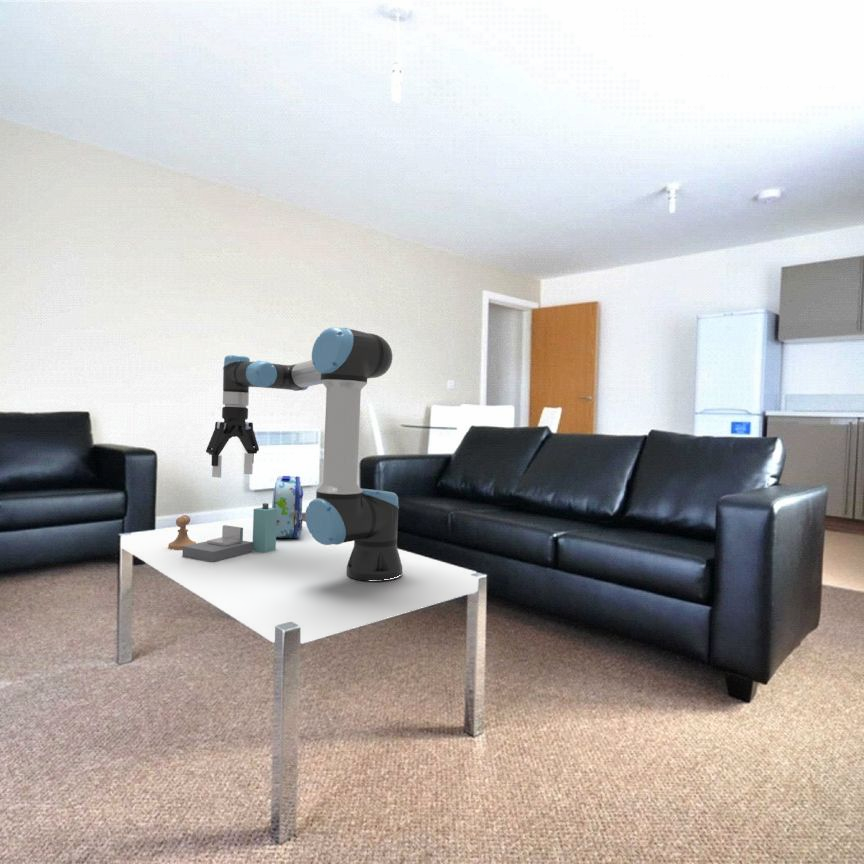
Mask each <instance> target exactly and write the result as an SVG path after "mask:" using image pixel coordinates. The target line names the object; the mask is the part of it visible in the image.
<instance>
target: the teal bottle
mask: <svg viewBox="0 0 864 864" xmlns="http://www.w3.org/2000/svg"><path fill="white" fill-rule="evenodd" d="M269 506H270V505H269V503H267V502H266V503H262V507H258V508H253V515H252V516H253V517H252V518H253V521H252V542H253V551H255V552H259V553H267V552H268V553H269V552H272V551H276V548H277V547H276V546H277V537H276V525H277V509H276V508H272V507H269Z"/></svg>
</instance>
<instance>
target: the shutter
mask: <svg viewBox="0 0 864 864" xmlns="http://www.w3.org/2000/svg"><path fill="white" fill-rule="evenodd" d="M221 532H222V534H221V535H222V536H221V537H218V538H212V539H208V540H207V543H209V544H215V545H221V546H228V545H232V544H236V543H240V542H243V541H244V540H243V538H244V537H243V536H244V528H243V527H241V526H233V525H227V524H225V525H222V531H221Z"/></svg>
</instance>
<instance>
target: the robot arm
mask: <svg viewBox="0 0 864 864" xmlns="http://www.w3.org/2000/svg"><path fill="white" fill-rule="evenodd" d="M311 350H312V351H311V360H307V361H306V360H305V361H302V362H298V363H295V364H290V365H289V364H279V363H274V362H273V363H271V362H269V361H266V360H265V361H264V360H256V361H250V357H249V356H246V355H239V354H237V355H235V354H234V355H233V354H229V355H226V356H225V357H224V360H223V361H224V362H223V367H222V374H223V375H222V376H223V377H222V405H224V406H222V407H221V408H222V409H221V418H222V419H223V421H216V422H215V425H214V430H213V433H212V435H211V438H210V440H209V442H208V444H207V447H206V449H205V452H206V453H207V454H208V455H210V456H211V466H212V470H211V471H212V473H211V474H212V476H211V477H213V478H218V479H219V478H222V461H223V460H222V459H223V456H222V454H221V453H222V452H223V449H224V448H225V446H226V445H227V444H228V442H229V440H230V439H231V438H235V437H237V438H238V440H240V443H241V444H242V447H243V448H244V450H245V452H246V453H244V463H243V475H253V464H254V462H255V461H254V459H255V458H254V457H255V456H254V455H255V454H257V453H258V452H259V451H260V448H259V445H258V440H257V438H256V434H255V430H254V423H253V422H248V421H247V420H248V419H249V408H248V406H249V397H250V396H249V394H250V388H265V389H279V390H288V391H289V390H290V391H294V392H295V391H296V392H297V391H305V390H308V388H309V387H312V386H317V385H323V386H324V388H326V393H325V395H326V397H325V420H324V421H325V422H324V443H323V444H324V445H323V450H324V451H323V468H322V469H323V471H322V474H323V475H322V483H321V485H319V486H318V487H317V488H316V492H315V493H316V494H315V495H316V496H315V498H314V499H313V500H311V501H310V502H308V505H307V507H306V508H305V509H306V510H305V515H304V516H305V523H306V524H305V525H306V527H307V529H308V532H309V534H311V537H312V538H313V539H314V540H315V541H316V542H317V543H319V544H321V545H324V546H328V545H329V546H330V545H336V546H337V545H341V544H345V543H348V542H349V543H350V542H353V541H354V542H353V547H352V551H351V553H350V556H349V559H348V562H347V565H346V575H347V577H349V578H350V579H353V580H356V579H357V581H362V580H384V579H390V578H394V577H397V576H399V575H401V574H402V575H403V564H402V560H401V557H400V553H399V550H398V530H399V529H398V526H399V525H398V524H399V509H400V506H399V496H398V495H397V494H396V493H395V492H392V491H387V490H386V491H385V490H380V489H379V490H378V489H369V488H361V487H360V486H359V485H358V471H359V470H358V469H359V468H358V467H359V465H358V464H359V442H360V441H359V440H360V420H361V419H360V418H361V417H360V416H361V413H360V412H361V397H362V396H361V395H362V389H364V387H365V386H366V385H368V379H375V378H379V377H382V376H383V375H385V374H386V373H387V372H388V371H389V369H390V368H391V365H392V363H393V352H392V351H393V350H392V348H391V346H390V344H389V343H388V342H387V340H385V339H384V338H383V337H382V336H381V335H378V334H374V333H369V332H365V331H360V330H355V329H352V328H351V329H350V328H348V327H336V326H333V327H328V328H327V329H324V330H323V331H322V332H321V333H320V334H319V335H318V336H317V337H316V339H315V341H314V343H313V346H312V349H311Z"/></svg>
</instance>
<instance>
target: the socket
mask: <svg viewBox="0 0 864 864" xmlns="http://www.w3.org/2000/svg"><path fill="white" fill-rule="evenodd" d="M250 553H254V552H253V541H248V540H243V542H240V543H236V544H232V545H228V546H221V545H215V544H209V543H207V541H202V542H198V543H197V542H196V544H192V545H187V546H183V550H182V556H181V557H183V558H188V559H193V560H199V561H205V562H208V563H215V562H219V561H220V562H221V561H223V560H227V559H231V558H235V557H238V556H242V555H247V554H250Z"/></svg>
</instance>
